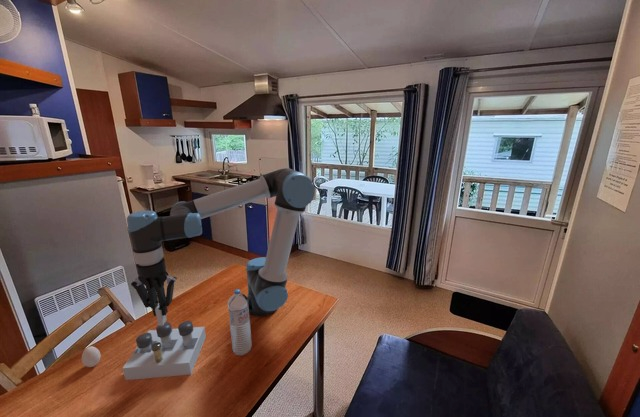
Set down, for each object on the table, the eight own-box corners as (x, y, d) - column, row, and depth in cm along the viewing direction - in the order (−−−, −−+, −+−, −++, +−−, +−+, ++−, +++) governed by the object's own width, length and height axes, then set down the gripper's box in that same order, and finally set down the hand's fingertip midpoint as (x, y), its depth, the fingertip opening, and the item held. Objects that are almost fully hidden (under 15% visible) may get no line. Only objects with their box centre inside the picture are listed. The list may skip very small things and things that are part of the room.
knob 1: (157, 349, 93) (153, 332, 90) (151, 359, 88) (147, 342, 86) (144, 350, 92) (140, 333, 90) (137, 360, 88) (133, 343, 86)
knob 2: (196, 337, 93) (194, 320, 91) (192, 347, 89) (189, 329, 87) (184, 338, 92) (181, 321, 90) (179, 348, 88) (175, 330, 86)
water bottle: (234, 359, 91) (228, 299, 83) (231, 345, 97) (225, 287, 89) (253, 352, 94) (249, 293, 87) (249, 339, 100) (245, 282, 92)
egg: (85, 363, 88) (79, 346, 86) (103, 357, 91) (98, 340, 89) (83, 373, 85) (77, 356, 82) (102, 366, 87) (96, 349, 85)
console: (205, 337, 100) (204, 326, 99) (191, 374, 85) (189, 362, 84) (150, 341, 98) (148, 330, 96) (125, 380, 83) (122, 368, 81)
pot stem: (165, 356, 86) (162, 341, 84) (161, 363, 83) (158, 348, 81) (156, 357, 85) (153, 342, 84) (152, 363, 83) (149, 349, 81)
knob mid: (176, 338, 92) (173, 321, 90) (171, 348, 88) (167, 331, 86) (163, 339, 92) (159, 322, 90) (157, 349, 88) (153, 332, 85)
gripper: (177, 253, 84) (187, 313, 91) (134, 255, 83) (147, 316, 90) (167, 265, 77) (178, 329, 84) (120, 267, 76) (135, 332, 83)
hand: (162, 322), depth 87 cm, fingers closed
